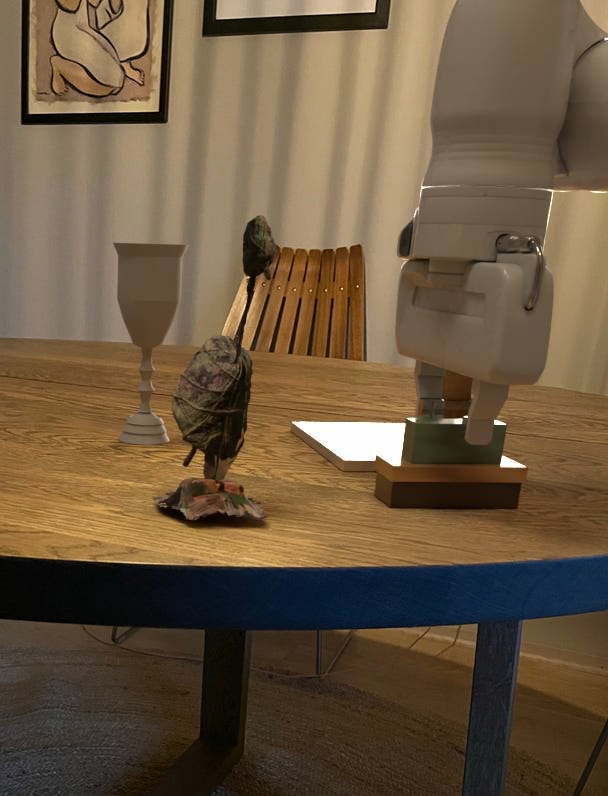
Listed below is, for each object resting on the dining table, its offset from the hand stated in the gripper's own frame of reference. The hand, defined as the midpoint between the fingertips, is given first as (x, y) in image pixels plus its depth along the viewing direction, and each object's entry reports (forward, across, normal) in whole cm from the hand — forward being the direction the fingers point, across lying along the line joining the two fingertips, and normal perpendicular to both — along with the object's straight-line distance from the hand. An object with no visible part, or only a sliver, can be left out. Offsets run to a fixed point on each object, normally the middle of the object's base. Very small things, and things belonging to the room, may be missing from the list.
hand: (450, 431), depth 78 cm
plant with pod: (+6, -3, +19) cm, 20 cm away
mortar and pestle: (+5, +36, -14) cm, 39 cm away
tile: (+5, +21, -2) cm, 22 cm away
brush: (+5, 0, 0) cm, 5 cm away
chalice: (+6, +25, +21) cm, 33 cm away
